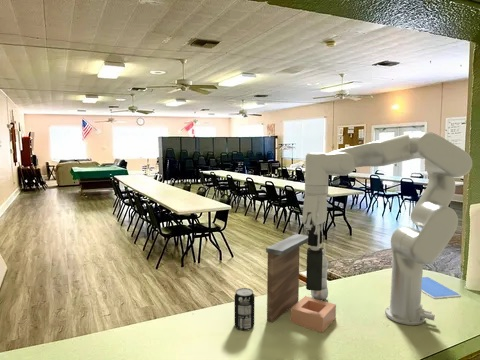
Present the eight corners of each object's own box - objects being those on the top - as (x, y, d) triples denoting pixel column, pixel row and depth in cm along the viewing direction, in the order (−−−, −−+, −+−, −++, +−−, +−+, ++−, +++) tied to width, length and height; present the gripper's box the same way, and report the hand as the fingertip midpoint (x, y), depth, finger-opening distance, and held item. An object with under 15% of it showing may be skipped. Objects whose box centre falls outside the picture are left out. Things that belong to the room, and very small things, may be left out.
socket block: (335, 318, 123) (336, 304, 122) (322, 332, 113) (323, 317, 113) (305, 309, 129) (305, 296, 129) (290, 322, 120) (290, 308, 119)
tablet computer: (461, 297, 140) (462, 294, 140) (433, 300, 138) (434, 297, 138) (427, 279, 159) (428, 276, 159) (402, 281, 157) (402, 278, 156)
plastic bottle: (321, 304, 133) (322, 252, 131) (307, 298, 138) (308, 248, 136) (331, 299, 137) (332, 249, 135) (317, 293, 142) (318, 245, 140)
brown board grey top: (309, 303, 134) (310, 236, 131) (281, 328, 116) (282, 251, 113) (294, 299, 137) (296, 233, 134) (265, 322, 119) (266, 247, 117)
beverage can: (244, 319, 122) (244, 285, 121) (258, 326, 117) (258, 291, 116) (230, 326, 117) (230, 291, 116) (244, 333, 113) (244, 297, 111)
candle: (321, 291, 117) (323, 217, 114) (306, 289, 118) (307, 216, 115) (321, 285, 122) (323, 214, 119) (306, 283, 123) (307, 213, 120)
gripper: (315, 186, 125) (314, 237, 127) (294, 191, 112) (293, 248, 114) (336, 188, 121) (334, 240, 123) (317, 194, 107) (315, 252, 109)
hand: (315, 243), depth 118 cm, fingers closed on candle, 3 cm apart
